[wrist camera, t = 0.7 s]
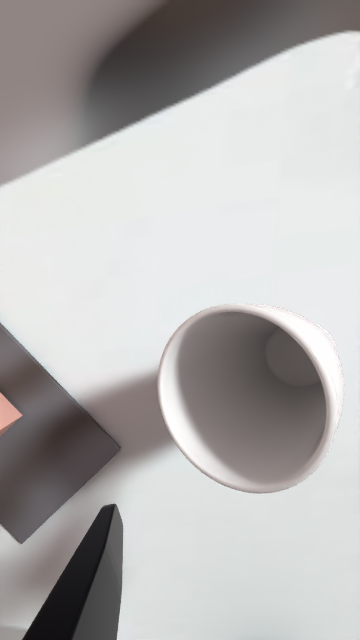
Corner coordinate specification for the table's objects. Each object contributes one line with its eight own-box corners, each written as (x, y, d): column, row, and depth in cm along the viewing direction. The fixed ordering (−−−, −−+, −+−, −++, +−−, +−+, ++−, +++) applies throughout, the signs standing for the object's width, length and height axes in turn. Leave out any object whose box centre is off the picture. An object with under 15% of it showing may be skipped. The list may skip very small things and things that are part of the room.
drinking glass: (351, 398, 20) (346, 530, 8) (260, 389, 24) (156, 468, 11) (347, 308, 20) (335, 292, 8) (257, 313, 24) (151, 307, 11)
